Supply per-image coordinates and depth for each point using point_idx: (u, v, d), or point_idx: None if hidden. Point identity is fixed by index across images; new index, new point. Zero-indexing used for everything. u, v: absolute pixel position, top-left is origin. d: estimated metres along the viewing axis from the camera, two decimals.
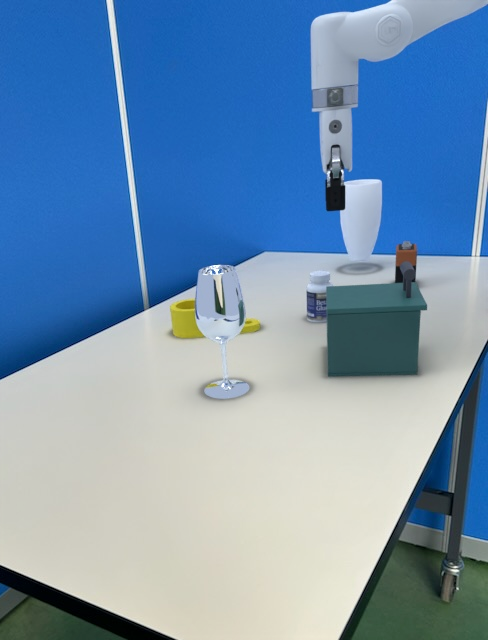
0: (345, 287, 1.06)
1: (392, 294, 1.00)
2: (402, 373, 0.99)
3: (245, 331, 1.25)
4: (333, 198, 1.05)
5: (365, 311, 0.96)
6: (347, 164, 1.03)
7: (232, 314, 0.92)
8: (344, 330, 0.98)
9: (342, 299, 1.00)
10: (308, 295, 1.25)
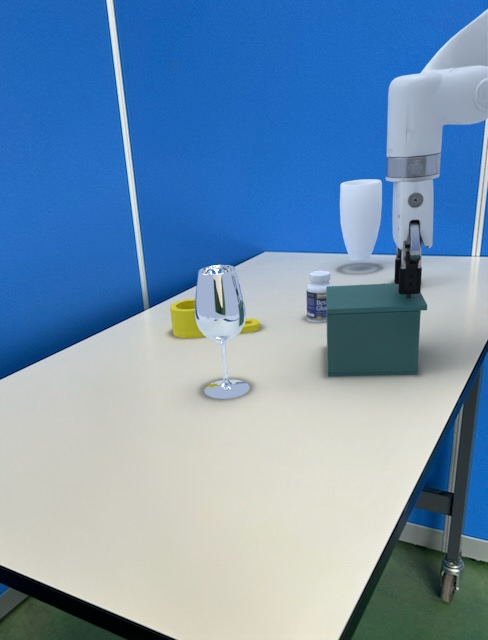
0: (345, 287, 1.06)
1: (392, 294, 1.00)
2: (402, 373, 0.99)
3: (245, 331, 1.25)
4: (407, 282, 0.95)
5: (365, 311, 0.96)
6: (427, 241, 0.91)
7: (232, 314, 0.92)
8: (344, 330, 0.98)
9: (342, 299, 1.00)
10: (308, 295, 1.25)
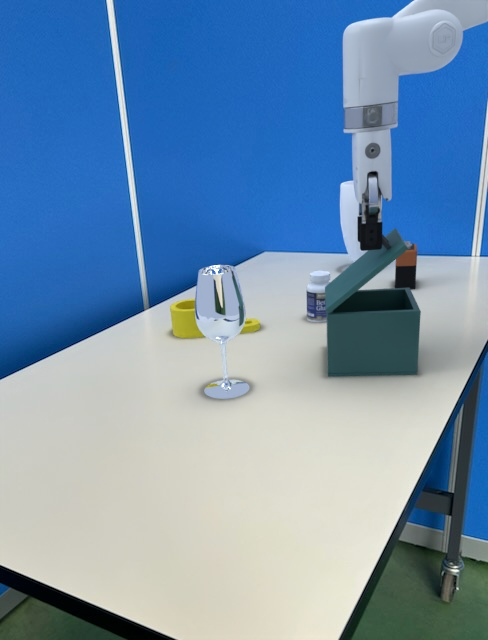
0: (339, 276, 1.06)
1: (376, 254, 0.98)
2: (402, 373, 0.99)
3: (245, 331, 1.24)
4: (368, 237, 0.93)
5: (357, 288, 0.94)
6: (386, 193, 0.89)
7: (232, 314, 0.92)
8: (344, 330, 0.98)
9: (336, 290, 1.00)
10: (308, 295, 1.25)
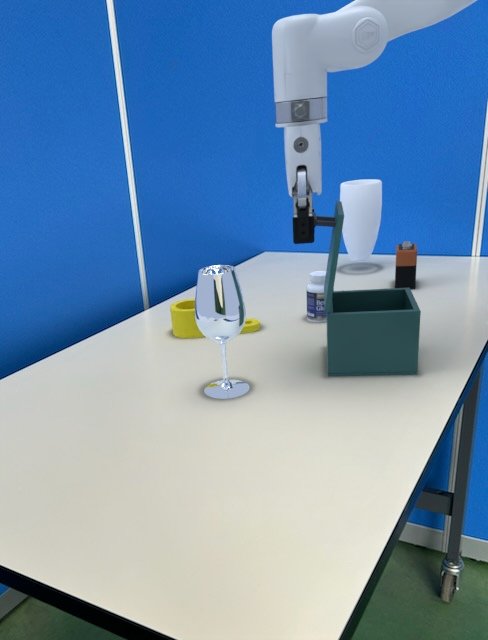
0: (326, 272, 1.06)
1: (333, 235, 0.98)
2: (402, 373, 0.99)
3: (245, 331, 1.24)
4: (300, 230, 0.95)
5: (333, 275, 0.94)
6: (315, 187, 0.90)
7: (232, 314, 0.92)
8: (344, 330, 0.98)
9: (326, 287, 1.00)
10: (308, 295, 1.25)
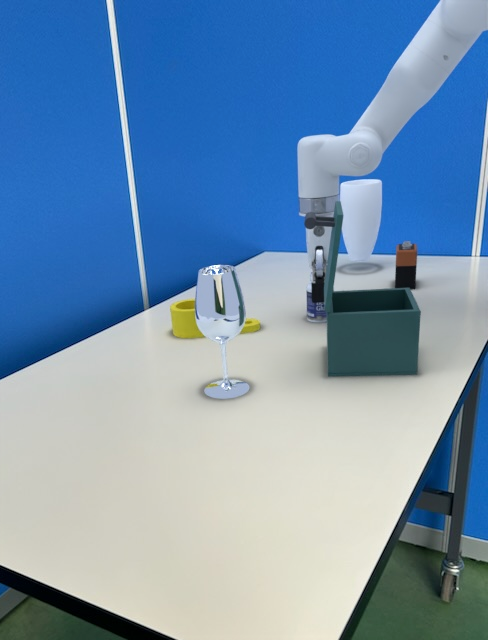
0: (326, 272, 1.06)
1: (332, 235, 0.98)
2: (402, 373, 0.99)
3: (245, 331, 1.24)
4: (317, 293, 1.22)
5: (333, 275, 0.94)
6: None
7: (232, 314, 0.92)
8: (344, 330, 0.98)
9: (326, 287, 1.00)
10: (308, 295, 1.25)
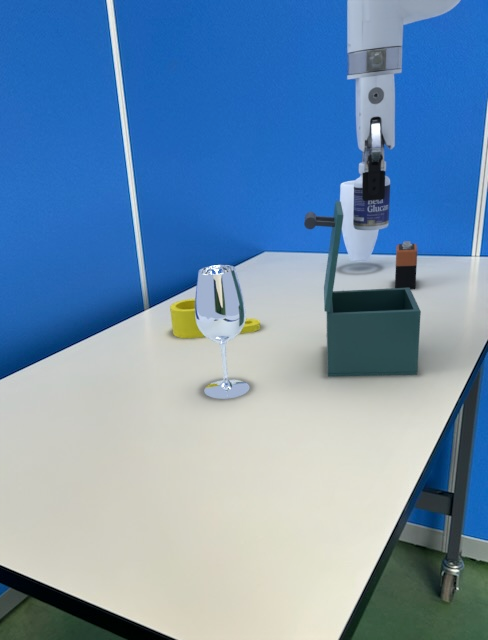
0: (326, 272, 1.06)
1: (332, 235, 0.98)
2: (402, 373, 0.99)
3: (245, 331, 1.24)
4: (371, 186, 0.92)
5: (333, 275, 0.94)
6: (389, 140, 0.88)
7: (232, 314, 0.92)
8: (344, 330, 0.98)
9: (326, 287, 1.00)
10: (356, 192, 0.95)
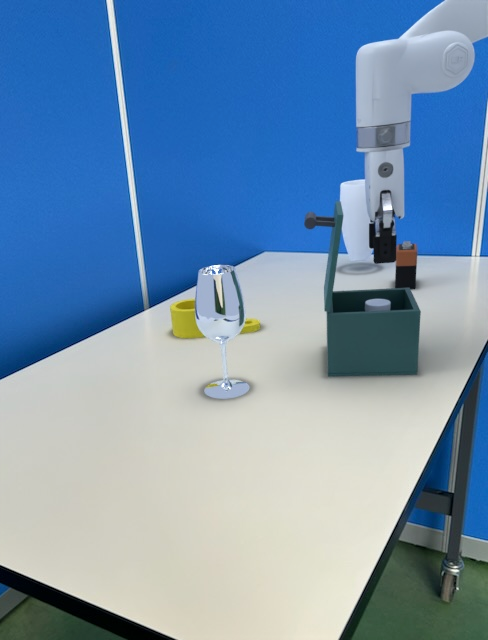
0: (326, 272, 1.06)
1: (332, 235, 0.98)
2: (402, 373, 0.99)
3: (245, 331, 1.24)
4: (382, 250, 0.92)
5: (333, 275, 0.94)
6: (399, 211, 0.90)
7: (232, 314, 0.92)
8: (344, 330, 0.98)
9: (326, 287, 1.00)
10: None
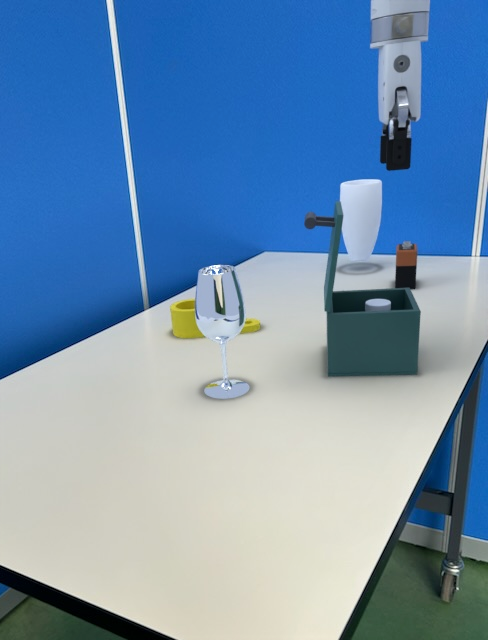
0: (326, 272, 1.06)
1: (332, 235, 0.98)
2: (402, 373, 0.99)
3: (245, 331, 1.24)
4: (396, 154, 0.86)
5: (333, 275, 0.94)
6: (415, 111, 0.84)
7: (232, 314, 0.92)
8: (344, 330, 0.98)
9: (326, 287, 1.00)
10: None
